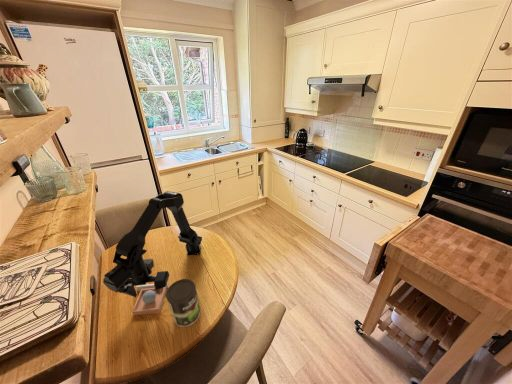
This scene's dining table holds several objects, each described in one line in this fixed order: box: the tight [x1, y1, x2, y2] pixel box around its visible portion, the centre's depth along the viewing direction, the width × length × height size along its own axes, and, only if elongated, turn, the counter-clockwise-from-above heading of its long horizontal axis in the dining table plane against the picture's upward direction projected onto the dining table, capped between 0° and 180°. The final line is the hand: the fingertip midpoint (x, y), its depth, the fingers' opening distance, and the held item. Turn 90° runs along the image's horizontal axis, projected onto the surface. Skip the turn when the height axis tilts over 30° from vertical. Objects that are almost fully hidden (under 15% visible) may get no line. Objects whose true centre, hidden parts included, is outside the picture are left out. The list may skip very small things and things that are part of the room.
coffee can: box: [165, 278, 201, 328], centre depth 80 cm, size 10×10×14 cm
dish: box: [131, 287, 168, 316], centre depth 88 cm, size 10×10×2 cm
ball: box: [142, 290, 156, 304], centre depth 87 cm, size 5×5×5 cm
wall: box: [135, 281, 169, 292], centre depth 93 cm, size 13×1×2 cm, turn 97°
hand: (147, 294), depth 86 cm, fingers open, 9 cm apart
